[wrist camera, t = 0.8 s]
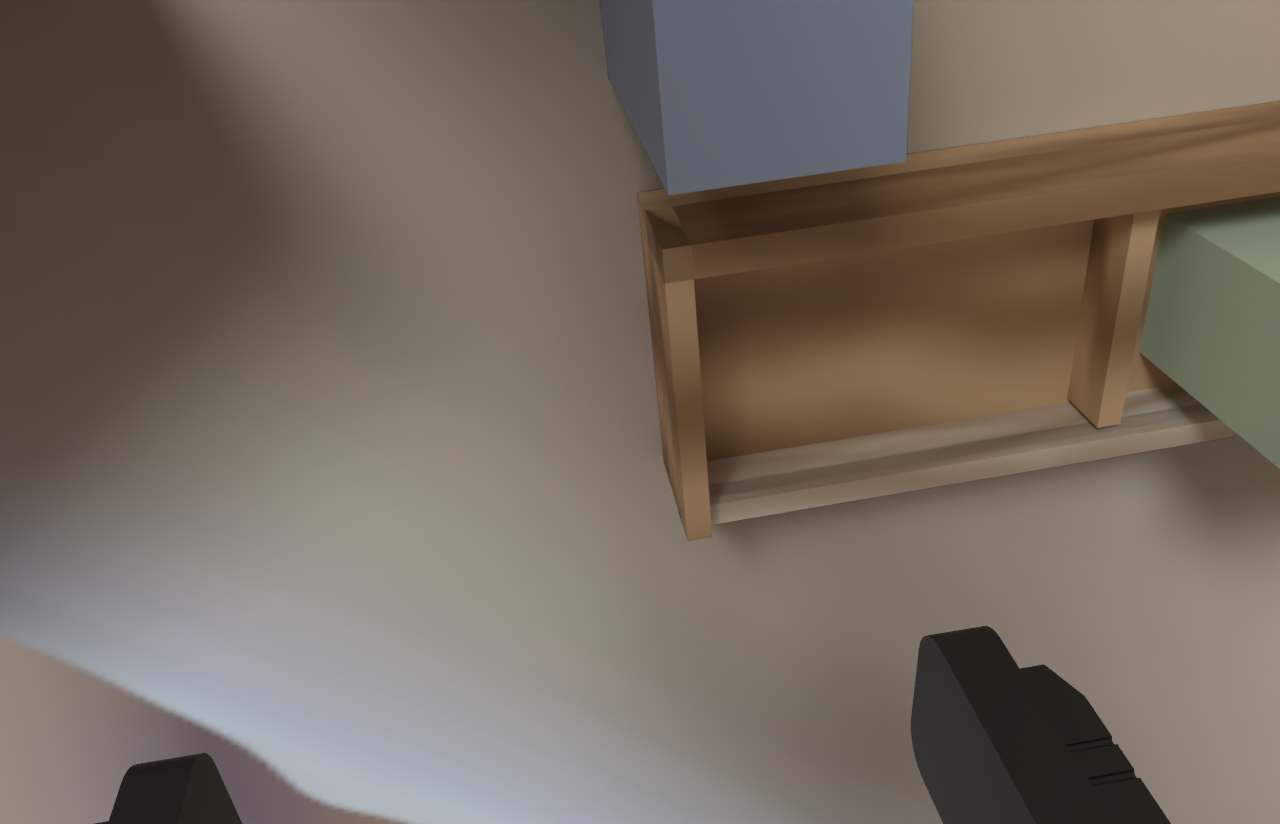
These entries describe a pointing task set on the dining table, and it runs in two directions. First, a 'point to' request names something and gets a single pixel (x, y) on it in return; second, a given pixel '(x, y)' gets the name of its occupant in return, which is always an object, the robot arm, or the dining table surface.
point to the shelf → (929, 313)
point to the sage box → (1222, 315)
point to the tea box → (761, 85)
